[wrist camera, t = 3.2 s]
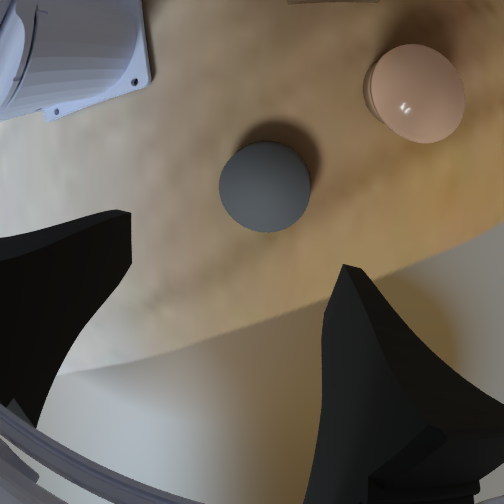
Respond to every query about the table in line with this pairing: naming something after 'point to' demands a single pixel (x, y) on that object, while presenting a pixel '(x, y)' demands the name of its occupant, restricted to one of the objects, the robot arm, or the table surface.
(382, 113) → the pink dome knob
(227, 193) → the rubber puck
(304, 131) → the table surface
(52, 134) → the table surface
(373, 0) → the walnut block
